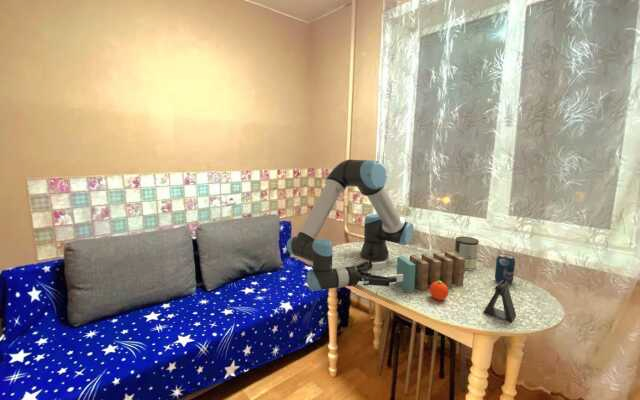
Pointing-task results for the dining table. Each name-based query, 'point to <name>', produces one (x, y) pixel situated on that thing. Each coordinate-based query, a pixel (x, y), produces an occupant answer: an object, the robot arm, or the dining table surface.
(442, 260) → the walnut domino
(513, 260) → the soda can
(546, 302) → the dining table surface
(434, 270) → the walnut domino
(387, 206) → the robot arm
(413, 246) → the dining table surface
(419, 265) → the walnut domino
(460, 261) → the walnut domino
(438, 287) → the clementine
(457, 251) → the coffee can
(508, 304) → the phone stand
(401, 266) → the teal domino
